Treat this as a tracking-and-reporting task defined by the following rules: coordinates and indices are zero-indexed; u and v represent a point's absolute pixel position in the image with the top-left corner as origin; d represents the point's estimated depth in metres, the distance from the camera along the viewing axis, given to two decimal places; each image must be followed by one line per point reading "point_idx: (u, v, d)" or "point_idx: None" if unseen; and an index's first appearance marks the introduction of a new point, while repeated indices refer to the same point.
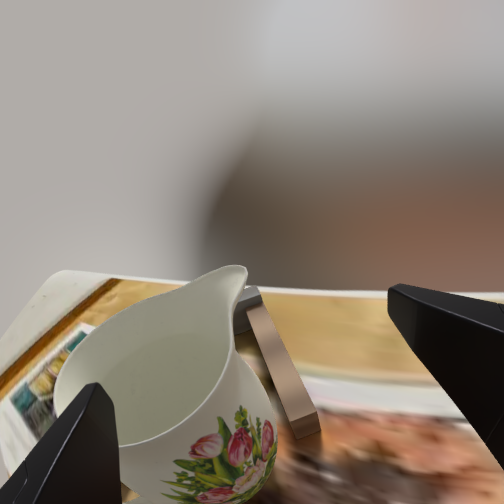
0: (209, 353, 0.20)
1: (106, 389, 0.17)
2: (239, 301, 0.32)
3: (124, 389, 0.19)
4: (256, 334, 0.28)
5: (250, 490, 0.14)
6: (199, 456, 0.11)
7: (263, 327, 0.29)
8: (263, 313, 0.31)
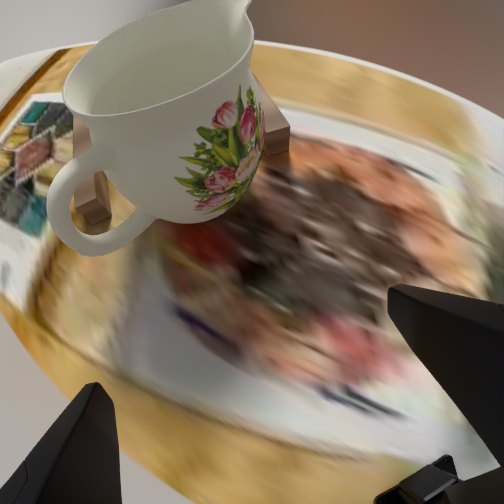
0: (198, 65, 0.19)
1: (99, 104, 0.17)
2: None
3: (113, 107, 0.19)
4: None
5: (244, 183, 0.19)
6: (218, 126, 0.14)
7: None
8: None
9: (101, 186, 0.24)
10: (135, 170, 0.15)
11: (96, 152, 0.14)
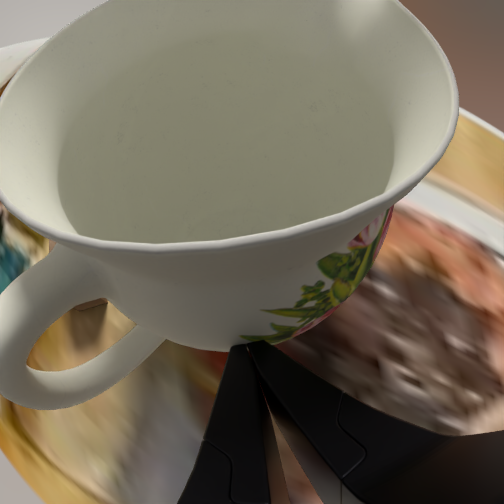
0: (261, 75, 0.12)
1: (83, 130, 0.09)
2: None
3: (109, 133, 0.11)
4: None
5: None
6: (354, 243, 0.06)
7: None
8: None
9: None
10: (155, 315, 0.07)
11: (64, 271, 0.06)
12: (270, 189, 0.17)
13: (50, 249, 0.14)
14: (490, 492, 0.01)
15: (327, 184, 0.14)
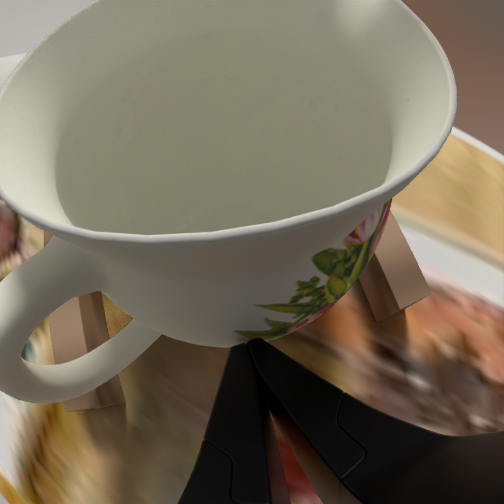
0: (260, 71, 0.12)
1: (82, 124, 0.09)
2: None
3: (107, 128, 0.11)
4: None
5: None
6: (349, 239, 0.06)
7: None
8: None
9: None
10: (149, 309, 0.07)
11: (60, 263, 0.06)
12: (268, 185, 0.17)
13: (55, 356, 0.12)
14: (489, 493, 0.01)
15: (325, 181, 0.14)
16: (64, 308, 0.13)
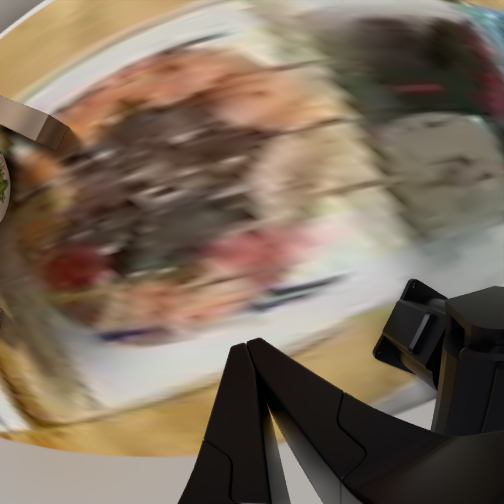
0: None
1: None
2: None
3: None
4: None
5: None
6: None
7: None
8: None
9: None
10: None
11: None
12: None
13: None
14: (490, 492, 0.01)
15: None
16: None
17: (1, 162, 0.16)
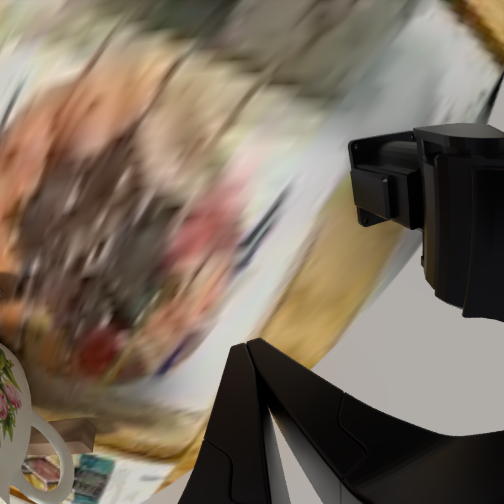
0: None
1: None
2: None
3: None
4: None
5: None
6: None
7: None
8: None
9: (65, 431, 0.22)
10: (16, 462, 0.13)
11: (17, 485, 0.12)
12: None
13: None
14: (489, 493, 0.01)
15: None
16: (48, 448, 0.21)
17: None
